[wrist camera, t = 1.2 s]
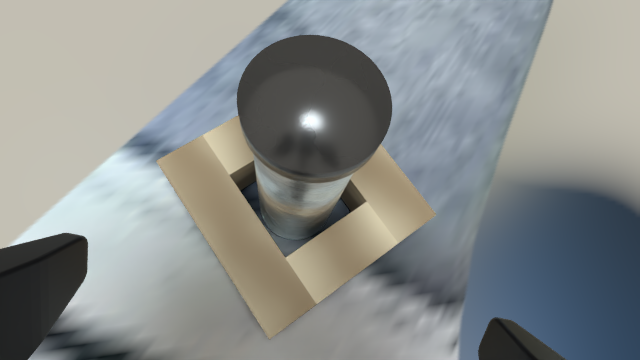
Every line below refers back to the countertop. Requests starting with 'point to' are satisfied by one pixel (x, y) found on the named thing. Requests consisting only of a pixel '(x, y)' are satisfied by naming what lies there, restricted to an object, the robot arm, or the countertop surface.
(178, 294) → the countertop surface
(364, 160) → the capped cylinder
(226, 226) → the housing
